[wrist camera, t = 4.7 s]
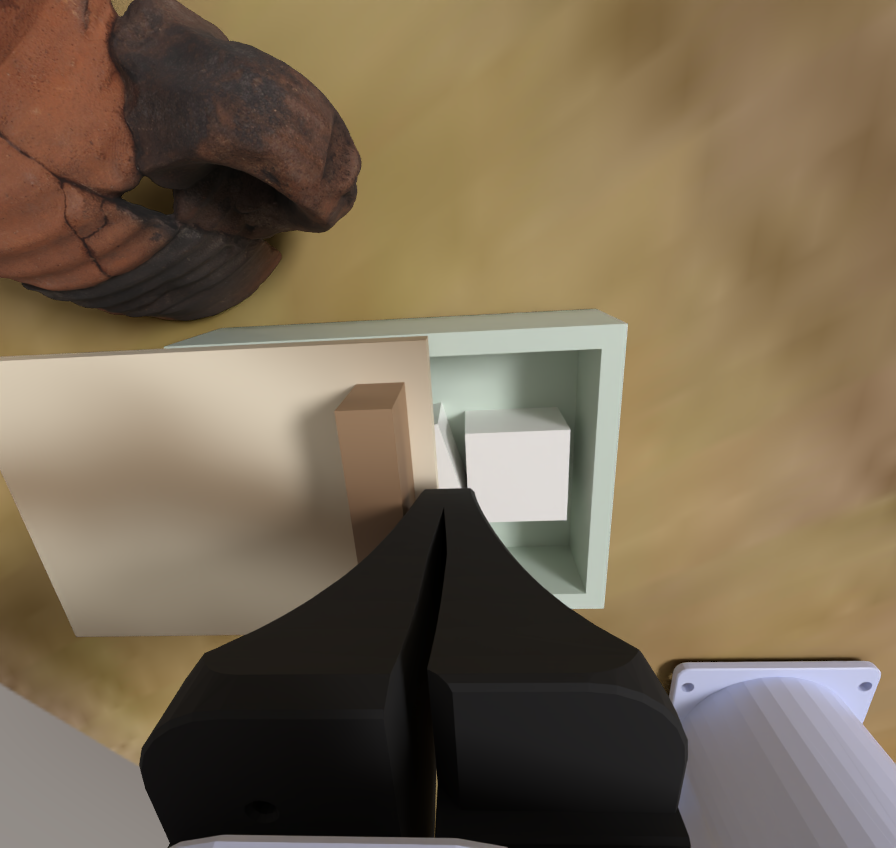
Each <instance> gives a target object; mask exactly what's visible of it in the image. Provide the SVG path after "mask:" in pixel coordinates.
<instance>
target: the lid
mask: <svg viewBox="0 0 896 848" xmlns="http://www.w3.org/2000/svg"><path fill="white" fill-rule="evenodd" d="M0 471H1V473H2V475H3V477H4V479H5V482H6V484H7V486H8V488H9V490H10V493H11V495H12V497H13V499H14V501H15V504H16V506H17V508H18V510H19V512H20V514H21V517H22V519H23V521H24V523H25V525H26V528H27V530H28V532H29V534H30V536H31V539H32V541H33V543H34V545H35V547H36V550H37V552H38V554H39V556H40V558H41V561H42V563H43V565H44V567H45V569H46V572H47V574H48V576H49V578H50V580H51V583H52V585H53V587H54V589H55V591H56V594H57V596H58V598H59V600H60V602H61V605H62V607H63V609H64V611H65V613H66V615H67V618H68V620H69V622H70V624H71V626H72V629H73V631H74V633H75V635H76V637H104V636H188V635H246V634H248V633H250V632H253V631H255V630H257V629H259V628H261V627H263V626H265V625H266V624H268V623H270V622H272V621H274V620H276V619H278V618H279V617H281V616H283V615H285V614H287V613H288V612H290V611H292V610H294V609H295V608H297V607H299V606H300V605H302V604H304V603H305V602H307V601H308V600H310V599H311V598H313V597H314V596H316V595H317V594H319V593H320V592H322V591H323V590H324V589H326V588H327V587H329V586H330V585H332V584H333V583H335V582H336V581H337V580H339V579H340V578H342V577H343V576H344V575H345V574H347V573H348V572H349V571H350V570H352V569H353V568H354V567H355V566H356V565H358V564H359V563H360V562H361V561H362V560H363V559H364V558H365V557H367V556H368V555H369V554H370V553H371V552H372V551H373V550H374V549H375V548H376V547H377V546H378V544H379V543H380V542H381V541H382V540H383V539H384V538H385V537H386V536H387V535H388V534H389V533H390V532H391V531H392V529H393V528H394V527H395V526H396V525H397V524H398V522H399V521H400V520H401V519H402V518H403V516H404V515H405V514H406V513H407V511H408V510H409V509H410V507H411V506H412V505H413V503H414V502H415V501H416V499H417V498H418V497H419V495H420V494H421V493H422V492H423V491H424V490H425V489H439V483H438V469H437V455H436V441H435V427H434V413H433V399H432V385H431V371H430V358H429V344H428V336H411V337H391V338H371V339H351V340H330V341H310V342H290V343H270V344H249V345H229V346H209V347H189V348H169V349H148V350H128V351H108V352H88V353H67V354H47V355H27V356H7V357H0Z"/></svg>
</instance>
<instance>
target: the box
mask: <svg viewBox="0 0 896 848" xmlns="http://www.w3.org/2000/svg"><path fill="white" fill-rule="evenodd" d="M627 329H628V323H625V322H623V321H621V320H619V319H617V318H615V317H613V316H610V315H608V314H606V313H604V312H602V311H600V310H598V309H582V310H563V311H543V312H524V313H505V314H485V315H466V316H447V317H427V318H408V319H389V320H369V321H350V322H331V323H311V324H292V325H273V326H253V327H234V328H220V329H217V330H214V331H211V332H208V333H205V334H202V335H199V336H196V337H193V338H189V339H186V340H183V341H180V342H177V343H174V344H171V345H168V346H165V347H164V348H165V349H169V348H189V347H209V346H229V345H249V344H270V343H290V342H310V341H330V340H351V339H371V338H391V337H411V336H428V344H429V358H430V371H431V385H432V399H433V404H436V403H440V402H442V405H443V408H444V411H445V413H446V416H447V419H448V422H449V425H450V428H451V431H452V434H453V437H454V439H455V442H456V445H457V448H458V451H459V454H460V457H461V460H462V462H463V465H464V468H465V471H466V474H467V466H466V445H465V411H471V410H495V409H519V408H542V407H558V409H559V410H560V412H561V414H562V416H563V417H564V419H565V421H566V423H567V424H568V426H569V428H570V454H569V478H568V503H567V520H554V521H518V522H489V524H490V525H491V527H492V528H493V530H494V531H495V533H496V534H497V536H498V537H499V539H500V540H501V541H502V543H503V544H504V545H505V547H506V548H507V549H508V550H509V552H510V553H511V554H512V555H513V556H514V558H515V559H516V560H517V561H518V562H519V563H520V564H521V566H522V567H523V568H524V569H525V570H526V571H527V572H528V573H529V574H530V575H531V576H532V577H533V578H534V579H535V580H536V581H537V582H538V583H540V584H541V585H542V586H543V587H544V588H545V589H546V590H548V591H549V592H550V593H551V594H552V595H554V596H555V597H556V598H557V599H559V600H560V601H561V602H562V603H564V604H565V605H566V606H568V607H569V608H570V609H597V608H604V601H605V589H606V578H607V566H608V554H609V542H610V530H611V518H612V506H613V495H614V483H615V471H616V459H617V447H618V435H619V424H620V412H621V400H622V388H623V376H624V364H625V352H626V341H627Z"/></svg>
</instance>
